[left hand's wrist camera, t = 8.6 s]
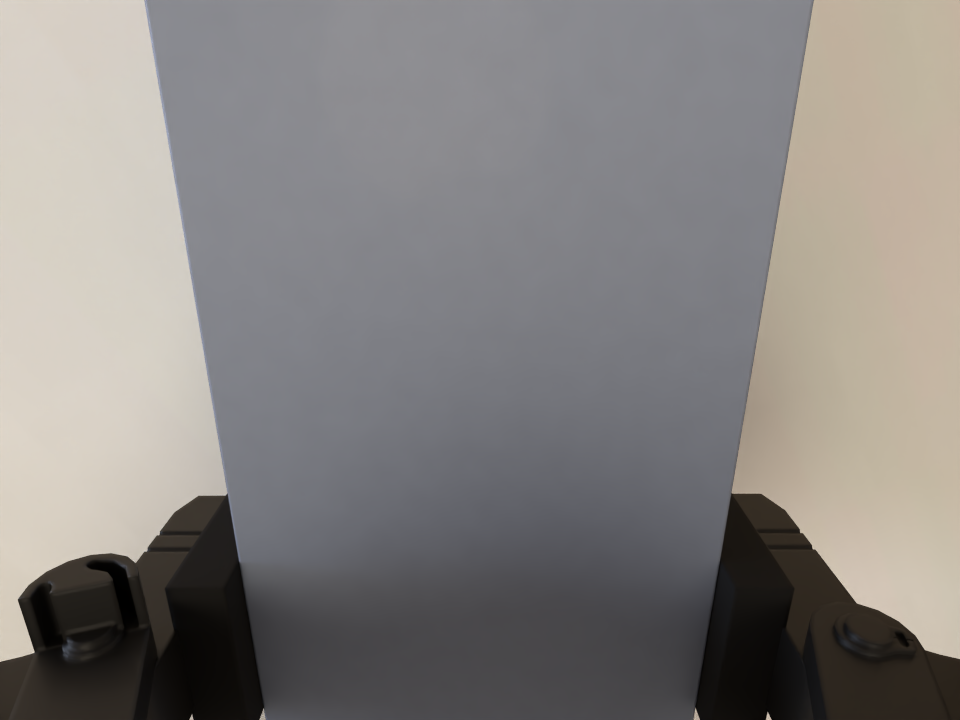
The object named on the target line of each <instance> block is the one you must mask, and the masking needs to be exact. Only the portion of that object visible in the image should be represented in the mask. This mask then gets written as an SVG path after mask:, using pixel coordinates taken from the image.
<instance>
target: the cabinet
mask: <svg viewBox="0 0 960 720" xmlns="http://www.w3.org/2000/svg"><path fill="white" fill-rule="evenodd" d="M813 1H814V0H145V6H146V12H147V18H148V24H149V30H150V36H151V42H152V47H153V53H154V59H155V65H156V71H157V77H158V83H159V89H160V95H161V101H162V107H163V113H164V119H165V125H166V130H167V136H168V142H169V148H170V154H171V160H172V166H173V172H174V178H175V184H176V190H177V196H178V202H179V208H180V214H181V219H182V225H183V231H184V237H185V243H186V249H187V255H188V261H189V267H190V273H191V279H192V285H193V291H194V297H195V302H196V308H197V314H198V320H199V326H200V332H201V338H202V344H203V350H204V356H205V362H206V368H207V374H208V380H209V386H210V391H211V397H212V403H213V409H214V415H215V421H216V427H217V433H218V439H219V445H220V451H221V457H222V463H223V469H224V474H225V480H226V486H227V492H228V498H229V504H230V510H231V516H232V522H233V528H234V534H235V540H236V546H237V552H238V557H239V563H240V569H241V575H242V581H243V587H244V593H245V599H246V605H247V611H248V617H249V623H250V629H251V635H252V641H253V646H254V652H255V658H256V664H257V670H258V676H259V682H260V688H261V694H262V700H263V706H264V712H265V718H266V720H693V719H694V713H695V707H696V701H697V695H698V689H699V683H700V677H701V671H702V665H703V659H704V653H705V647H706V641H707V635H708V629H709V623H710V617H711V611H712V605H713V599H714V593H715V587H716V581H717V575H718V569H719V563H720V557H721V551H722V545H723V539H724V533H725V527H726V521H727V515H728V509H729V503H730V497H731V491H732V485H733V479H734V474H735V468H736V462H737V456H738V450H739V444H740V438H741V432H742V426H743V420H744V414H745V408H746V402H747V396H748V390H749V384H750V378H751V372H752V366H753V360H754V354H755V348H756V342H757V336H758V330H759V324H760V318H761V312H762V306H763V300H764V294H765V288H766V282H767V276H768V270H769V264H770V258H771V252H772V246H773V240H774V234H775V228H776V222H777V216H778V210H779V204H780V198H781V192H782V186H783V181H784V175H785V169H786V163H787V157H788V151H789V145H790V139H791V133H792V127H793V121H794V115H795V109H796V103H797V97H798V91H799V85H800V79H801V73H802V67H803V61H804V55H805V49H806V43H807V37H808V31H809V25H810V19H811V13H812V7H813Z"/></svg>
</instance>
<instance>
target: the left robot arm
mask: <svg viewBox="0 0 960 720" xmlns="http://www.w3.org/2000/svg"><path fill="white" fill-rule="evenodd" d="M18 602H19V605H20V608H21V611H22V614H23V617H24V620H25V623H26V626H27V629H28V632H29V636H30V639H31V642H32V645H33V648H34V651H35V653H33V654H30V655H26V656H23V657H19V658H15V659H11V660H6V661H2V662H0V720H189V719H190V717H191V715H193V719H194V720H259V719H260V716H261V714H262V711H263V708H264V706H263V700H262V694H261V688H260V682H259V676H258V670H257V664H256V658H255V652H254V646H253V641H252V635H251V629H250V623H249V617H248V611H247V605H246V599H245V593H244V587H243V581H242V575H241V569H240V563H239V557H238V552H237V546H236V540H235V534H234V528H233V522H232V516H231V510H230V504H229V498H228V494H227V495H226V496H198V497H196V498H195V499H193V500H192V501H191V502H189V503H188V504H186V505H185V506H183V507H182V508H180V509H179V510H177V511H176V512H175V513H174V514H173V515H172V517H171V518H170V519H169V520H168V522H167V523H166V524H165V526H164V527H163V528H162V530H161V531H160V535H159V536H156V537H155V539H154V540H153V541H152V543H151V544H150V545H149V547H148V551H147V552H144V553H143V554H142V556H141V557H140V558H139V560H138V561H137V562H136V563H135V562H133V561H132V560H131V559H130V558H128V557H127V556H122V555H117V554H112V553H110V554H98V555H89V556H86V557H82V558H79V559H75V560H72V561H68V562H66V563H64V564H62V565H60V566H58V567H56V568H54V569H52V570H49V571H47V572H46V573H44V574H43V575H42V576H40V577H39V578H38V579H36V580H35V581H34V582H32V583H31V584H30V585H29V586H28V587H27V588H26V589H25V591H24V592H23V593H22V595H21V596H20V597H19V599H18ZM696 710H697V713H698V715H699V718H700V720H766V716H767V712H768V713H769V715H770V717H771V719H772V720H960V659H956V658H952V657H948V656H943V655H939V654H936V653H932V652H929V651H926V650H924V648H923V647H922V645H921V644H920V642H919V641H918V639H917V638H916V636H915V635H914V634H913V633H911V632H910V631H909V630H908V629H907V628H906V627H904V626H903V625H902V624H901V623H900V622H899V621H897V620H895V619H893V618H891V617H889V616H887V615H886V614H884V613H882V612H880V611H878V610H875V609H872V608H869V607H866V606H863V605H859V604H857V603H856V602H855V601H854V599H853V598H852V597H851V595H850V594H849V593H848V592H847V590H846V589H845V588H844V586H843V585H842V584H841V582H840V581H839V580H838V579H837V577H836V576H835V575H834V573H833V572H832V571H831V569H830V568H829V567H828V566H827V564H826V563H825V562H824V560H823V559H822V558H821V556H820V555H819V554H818V553H817V551H816V550H813V549H812V545H811V543H810V542H809V541H808V540H807V538H806V537H805V536H804V534H803V533H800V529H799V528H798V527H797V525H796V524H795V523H794V521H793V520H792V519H791V517H790V516H789V515H788V514H787V512H786V511H785V510H784V509H782V508H781V507H779V506H778V505H777V504H775V503H774V502H772V501H771V500H769V499H768V498H766V497H765V496H763V495H762V494H732V493H731V497H730V503H729V509H728V515H727V521H726V527H725V533H724V539H723V545H722V551H721V557H720V563H719V569H718V575H717V581H716V587H715V593H714V599H713V605H712V611H711V617H710V623H709V629H708V635H707V641H706V647H705V653H704V659H703V665H702V671H701V677H700V683H699V689H698V695H697V701H696Z"/></svg>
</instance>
